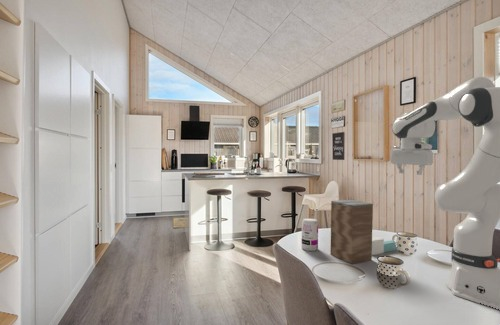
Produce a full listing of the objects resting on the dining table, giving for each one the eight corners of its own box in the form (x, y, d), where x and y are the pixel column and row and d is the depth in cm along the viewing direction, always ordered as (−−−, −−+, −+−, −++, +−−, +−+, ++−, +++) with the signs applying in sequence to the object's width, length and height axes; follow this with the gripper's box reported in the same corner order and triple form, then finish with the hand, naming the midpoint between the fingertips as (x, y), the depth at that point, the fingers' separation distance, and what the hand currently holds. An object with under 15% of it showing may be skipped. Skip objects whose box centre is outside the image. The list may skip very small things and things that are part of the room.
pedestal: (371, 260, 137) (372, 203, 136) (352, 264, 132) (353, 205, 131) (349, 250, 149) (350, 199, 149) (330, 254, 144) (331, 200, 143)
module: (398, 250, 151) (399, 236, 151) (371, 255, 143) (371, 241, 143) (390, 247, 156) (390, 233, 155) (363, 252, 148) (363, 238, 147)
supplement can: (316, 246, 156) (317, 218, 155) (318, 251, 148) (319, 221, 147) (301, 245, 157) (301, 217, 156) (302, 251, 149) (302, 221, 148)
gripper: (388, 145, 153) (387, 172, 153) (427, 145, 134) (426, 175, 135) (396, 146, 156) (395, 172, 156) (435, 145, 137) (434, 175, 138)
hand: (410, 173), depth 145 cm, fingers open, 8 cm apart
